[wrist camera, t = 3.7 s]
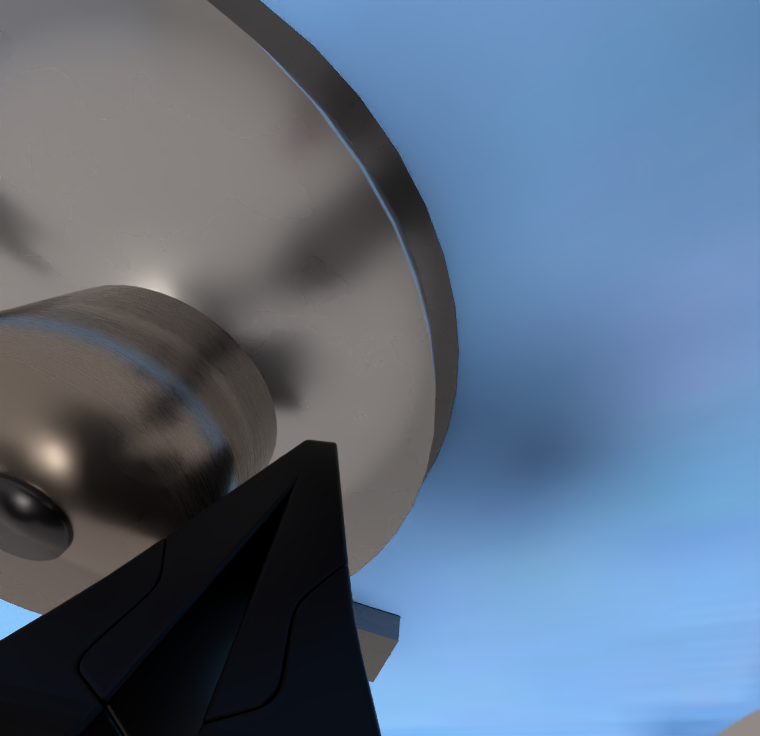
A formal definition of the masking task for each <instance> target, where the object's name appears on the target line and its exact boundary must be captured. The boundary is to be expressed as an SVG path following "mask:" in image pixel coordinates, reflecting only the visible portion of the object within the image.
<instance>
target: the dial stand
mask: <svg viewBox="0 0 760 736" xmlns="http://www.w3.org/2000/svg"><path fill="white" fill-rule="evenodd" d="M353 607H354V614H355V621H356V626H357V631H358V636H359V641H360V646H361V650H362V655H363V660H364V664H365V668H366V672H367V677H368V681H371V682H374V680H375V678H376V677H377V675H378V674H379V672H380V670H381V669H382V667H383V665H384V664H385V662H386V660H387V659H388V657H389V656H390V654H391V652H392V651H393V649H394V647H395V646H396V644H397V642H398V639H399V624H400V617H399V616H396V615H393V614H389V613H386V612H383V611H380V610H377V609H373V608H370V607H367V606H364V605H360V604H357V603H354V602H353Z"/></svg>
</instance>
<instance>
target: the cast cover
mask: <svg viewBox="0 0 760 736" xmlns="http://www.w3.org/2000/svg"><path fill="white" fill-rule="evenodd" d="M276 439H277V419H276V414H275V408H274V404H273V401H272V398H271V395H270V392H269V389H268V387H267V385H266V383H265V381H264V379H263V377H262V375H261V373H260V372H259V370H258V369H257V367H256V366H255V364H254V362H253V361H252V359H251V358H250V357H249V356H248V354H247V353H246V352H245V351H244V349H243V348H242V347H241V346H240V345H239V344H238V343H237V342H236V341H235V340H234V339H233V338H232V337H231V335H230V334H229V333H228V332H226V331H225V330H224V329H223V328H222V327H220V326H219V325H218V324H217V323H216V322H214V321H213V320H212V319H210V318H209V317H207V316H206V315H204V314H203V313H201V312H200V311H198V310H197V309H195V308H194V307H192V306H190V305H188V304H186V303H184V302H182V301H180V300H178V299H176V298H173V297H171V296H168V295H166V294H163V293H161V292H158V291H154V290H150V289H146V288H142V287H136V286H128V285H104V286H98V287H92V288H88V289H84V290H80V291H76V292H72V293H68V294H64V295H60V296H57V297H53V298H49V299H45V300H41V301H37V302H33V303H29V304H25V305H21V306H18V307H14V308H10V309H6V310H2V311H0V599H3V600H5V601H7V602H9V603H12V604H14V605H17V606H19V607H22V608H24V609H27V610H30V611H33V612H36V613H39V614H42V615H44V614H45V613H47V612H49V611H50V610H52V609H54V608H55V607H57V606H59V605H60V604H62V603H64V602H65V601H67V600H69V599H70V598H72V597H73V596H75V595H77V594H78V593H80V592H82V591H83V590H85V589H86V588H88V587H90V586H91V585H93V584H95V583H96V582H98V581H99V580H101V579H103V578H104V577H106V576H107V575H109V574H110V573H112V572H113V571H115V570H116V569H118V568H119V567H121V566H122V565H124V564H125V563H127V562H128V561H130V560H131V559H133V558H135V557H136V556H138V555H139V554H141V553H142V552H143V551H145V550H146V549H148V548H149V547H151V546H152V545H154V544H155V543H157V542H158V541H159V540H161V539H163V538H164V539H166V537H167V535H168V534H170V533H171V532H173V531H174V530H176V529H177V528H179V527H180V526H181V525H183V524H184V523H186V522H187V521H189V520H190V519H192V518H193V517H194V516H196V515H197V514H199V513H200V512H202V511H203V510H205V509H206V508H208V507H209V506H210V505H212V504H213V503H215V502H216V501H218V500H219V499H221V498H222V497H223V496H225V495H226V494H228V493H229V492H231V491H232V490H234V489H235V488H237V487H238V486H239V485H241V484H242V483H244V482H245V481H247V480H248V479H250V478H251V477H252V476H254V475H255V474H257V473H258V472H260V471H261V470H263V469H264V468H266V467H267V466H268V464H269V462H270V460H271V458H272V456H273V453H274V449H275V446H276Z"/></svg>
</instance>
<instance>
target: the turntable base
mask: <svg viewBox="0 0 760 736" xmlns="http://www.w3.org/2000/svg"><path fill="white" fill-rule="evenodd" d="M207 1H208V2H210V3H211V4H212V5H213V6H214V7H216V8H217V9H218V10H219V11H220V12H222V13H223V14H224V15H225V16H226V17H228V18H229V19H230V20H231V21H232V22H234V23H235V24H236V25H237V26H238V27H240V28H241V29H242V30H243V31H244V32H246V33H247V34H248V35H249V36H250V37H252V38H253V39H254V40H255V41H256V42H257V43H258V44H259V45H260V46H261V47H263V48H264V49H265V50H266V51H267V52H268V53H269V54H270V55H271V56H272V57H273V58H274V59H275V60H277V61H278V62H279V63H280V64H281V65H282V66H283V67H284V68H285V69H286V70H287V71H288V72H290V73H291V74H292V75H293V76H294V77H295V78H296V79H297V80H298V81H299V82H300V84H301V85H302V86H303V87H304V88H305V89H306V90H307V91H308V92H309V93H310V94H311V95H312V96H313V98H314V99H315V100H316V101H317V102H318V103H319V104H320V105H321V106H322V107H323V108H324V109H325V110H326V111H327V113H328V114H329V115H330V116H331V117H332V118H333V119H334V120H335V121H336V122H337V123H338V125H339V126H340V127H341V129H342V130H343V132H344V133H345V134H346V136H347V137H348V139H349V140H350V141H351V143H352V144H353V145H354V147H355V148H356V150H357V151H358V152H359V154H360V155H361V157H362V158H363V159H364V161H365V162H366V163H367V165H368V166H369V168H370V169H371V170H372V172H373V173H374V175H375V177H376V179H377V181H378V183H379V184H380V186H381V188H382V190H383V192H384V194H385V195H386V197H387V199H388V201H389V203H390V204H391V206H392V208H393V210H394V212H395V214H396V215H397V217H398V219H399V221H400V223H401V226H402V228H403V231H404V234H405V236H406V239H407V241H408V244H409V246H410V249H411V251H412V254H413V256H414V259H415V261H416V264H417V267H418V269H419V273H420V277H421V281H422V285H423V289H424V293H425V297H426V301H427V305H428V309H429V313H430V321H431V331H432V340H433V349H434V362H435V386H436V394H435V418H434V436H433V441H432V446H431V451H430V455H429V460H428V465H427V470H426V474H425V476H424V479H425V477H426V476H427V474H428V472H429V471H430V469H431V467H432V465H433V464H434V462H435V460H436V458H437V456H438V453H439V450H440V448H441V445H442V443H443V440H444V438H445V435H446V432H447V430H448V427H449V422H450V418H451V413H452V409H453V404H454V399H455V395H456V387H457V371H458V356H459V347H458V335H457V322H456V310H455V303H454V298H453V294H452V289H451V285H450V280H449V276H448V271H447V267H446V262H445V258H444V254H443V252H442V249H441V246H440V243H439V241H438V238H437V235H436V233H435V230H434V227H433V224H432V222H431V219H430V216H429V213H428V211H427V208H426V205H425V203H424V201H423V199H422V197H421V195H420V193H419V192H418V190H417V188H416V186H415V184H414V182H413V180H412V178H411V176H410V174H409V172H408V170H407V169H406V167H405V165H404V163H403V161H402V159H401V157H400V155H399V153H398V151H397V150H396V148H395V147H394V146H393V144H392V143H391V141H390V140H389V138H388V137H387V135H386V134H385V133H384V131H383V130H382V128H381V127H380V125H379V124H378V123H377V121H376V120H375V118H374V117H373V115H372V114H371V112H370V111H369V110H368V108H367V107H366V105H365V104H364V102H363V101H362V100H361V98H360V97H359V96H358V95H357V93H356V92H355V91H354V90H353V89H352V88H351V87H350V86H349V85H348V83H347V82H346V81H345V80H344V79H343V78H342V77H341V76H340V75H339V74H338V72H337V71H336V70H335V69H334V68H333V67H332V66H331V65H330V64H329V62H328V61H327V60H326V59H325V58H324V57H323V56H322V55H321V54H320V53H319V51H318V50H317V49H316V48H315V47H314V46H313V45H312V44H311V43H310V42H308V41H307V40H306V39H305V38H304V37H302V36H301V35H300V34H299V33H298V32H297V31H295V30H294V29H293V28H292V27H291V26H290V25H288V24H287V23H286V22H285V21H284V20H282V19H281V18H280V17H279V16H278V15H277V14H275V13H274V12H273V11H272V10H271V9H269V8H268V7H267V6H266V5H265V4H264V3H262V2H261V1H260V0H207ZM424 479H423V481H424ZM423 481H422V483H423Z"/></svg>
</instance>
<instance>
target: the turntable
mask: <svg viewBox="0 0 760 736" xmlns="http://www.w3.org/2000/svg"><path fill="white" fill-rule="evenodd" d="M104 285H128V286H136V287H142V288H146V289H150V290H154V291H158V292H161V293H163V294H166V295H168V296H171V297H173V298H176V299H178V300H180V301H182V302H184V303H186V304H188V305H190V306H192V307H194V308H195V309H197V310H198V311H200V312H201V313H203V314H204V315H206V316H207V317H209V318H210V319H212V320H213V321H214V322H216V323H217V324H218V325H219V326H220V327H222V328H223V329H224V330H225V331H226V332H228V333H229V334H230V335H231V337H232V338H233V339H234V340H235V341H236V342H237V343H238V344H239V345H240V346H241V347H242V348H243V349H244V351H245V352H246V353H247V354H248V356H249V357H250V358H251V359H252V361H253V362H254V364H255V366H256V367H257V369H258V370H259V372H260V373H261V375H262V377H263V379H264V381H265V383H266V385H267V387H268V389H269V392H270V395H271V398H272V401H273V404H274V408H275V414H276V419H277V439H276V446H275V449H274V453H273V456H272V458H271V460H270V462H269V464H268V465H270V464H271V463H273V462H274V461H276V460H277V459H279V458H280V457H281V456H283V455H284V454H286V453H287V452H289V451H290V450H292V449H293V448H295V447H296V446H297V445H299V444H300V443H302V442H303V441H305V440H307V439H310V440H319V441H328V442H335V443H336V444H337V449H338V460H339V470H340V481H341V491H342V502H343V512H344V523H345V533H346V544H347V554H348V567H349V573H350V576H352V575H354V574H355V573H356V572H358V571H359V570H360V569H361V568H362V567H364V566H365V565H366V564H367V563H368V562H370V561H371V560H372V559H373V558H374V557H376V556H377V555H378V554H379V553H380V551H381V550H382V549H383V548H384V547H385V546H386V544H387V543H388V542H389V541H390V540H391V539H392V537H393V536H394V535H395V534H396V533H397V531H398V530H399V528H400V526H401V525H402V523H403V521H404V520H405V518H406V516H407V515H408V513H409V511H410V510H411V508H412V506H413V505H414V502H415V499H416V497H417V494H418V492H419V489H420V487H421V484H422V481H423V479H424V476H425V474H426V470H427V465H428V460H429V455H430V451H431V446H432V441H433V436H434V418H435V394H436V386H435V362H434V349H433V340H432V331H431V321H430V313H429V309H428V305H427V301H426V297H425V293H424V289H423V285H422V281H421V277H420V273H419V269H418V267H417V264H416V261H415V259H414V256H413V254H412V251H411V249H410V246H409V244H408V241H407V239H406V236H405V234H404V231H403V228H402V226H401V223H400V221H399V219H398V217H397V215H396V214H395V212H394V210H393V208H392V206H391V204H390V203H389V201H388V199H387V197H386V195H385V194H384V192H383V190H382V188H381V186H380V184H379V183H378V181H377V179H376V177H375V175H374V173H373V172H372V170H371V169H370V168H369V166H368V165H367V163H366V162H365V161H364V159H363V158H362V157H361V155H360V154H359V152H358V151H357V150H356V148H355V147H354V145H353V144H352V143H351V141H350V140H349V139H348V137H347V136H346V134H345V133H344V132H343V130H342V129H341V127H340V126H339V125H338V123H337V122H336V121H335V120H334V119H333V118H332V117H331V116H330V115H329V114H328V113H327V111H326V110H325V109H324V108H323V107H322V106H321V105H320V104H319V103H318V102H317V101H316V100H315V99H314V98H313V96H312V95H311V94H310V93H309V92H308V91H307V90H306V89H305V88H304V87H303V86H302V85H301V84H300V82H299V81H298V80H297V79H296V78H295V77H294V76H293V75H292V74H291V73H290V72H288V71H287V70H286V69H285V68H284V67H283V66H282V65H281V64H280V63H279V62H278V61H277V60H275V59H274V58H273V57H272V56H271V55H270V54H269V53H268V52H267V51H266V50H265V49H264V48H263V47H261V46H260V45H259V44H258V43H257V42H256V41H255V40H254V39H253V38H252V37H250V36H249V35H248V34H247V33H246V32H244V31H243V30H242V29H241V28H240V27H238V26H237V25H236V24H235V23H234V22H232V21H231V20H230V19H229V18H228V17H226V16H225V15H224V14H223V13H222V12H220V11H219V10H218V9H217V8H216V7H214V6H213V5H212V4H211V3H210V2H208V1H207V0H0V311H2V310H6V309H10V308H14V307H18V306H21V305H25V304H29V303H33V302H37V301H41V300H45V299H49V298H53V297H57V296H60V295H64V294H68V293H72V292H76V291H80V290H84V289H88V288H92V287H98V286H104Z"/></svg>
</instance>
